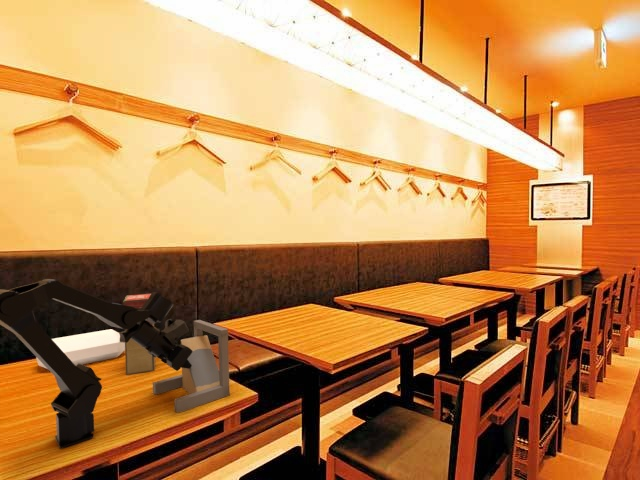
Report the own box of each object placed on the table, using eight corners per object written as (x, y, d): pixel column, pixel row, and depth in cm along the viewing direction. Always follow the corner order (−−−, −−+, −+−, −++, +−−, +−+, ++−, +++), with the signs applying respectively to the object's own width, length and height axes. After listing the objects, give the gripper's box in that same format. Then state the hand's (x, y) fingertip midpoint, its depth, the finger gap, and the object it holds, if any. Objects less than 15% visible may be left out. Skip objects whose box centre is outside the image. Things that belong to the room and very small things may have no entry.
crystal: (129, 332, 145) (39, 348, 127) (130, 357, 145) (40, 376, 127) (119, 326, 156) (34, 339, 137) (120, 349, 156) (35, 365, 137)
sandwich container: (200, 405, 103) (198, 351, 103) (181, 388, 115) (179, 339, 115) (229, 396, 108) (228, 344, 108) (208, 381, 120) (207, 334, 120)
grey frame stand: (177, 412, 98) (175, 340, 98) (153, 392, 111) (151, 328, 111) (229, 395, 108) (227, 329, 108) (201, 378, 121) (199, 319, 121)
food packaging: (127, 363, 138) (125, 295, 137) (155, 359, 141) (153, 292, 141) (124, 375, 125) (122, 300, 125) (155, 371, 129) (153, 298, 129)
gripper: (183, 317, 99) (223, 349, 107) (157, 308, 112) (194, 337, 120) (153, 354, 94) (197, 385, 101) (130, 340, 107) (170, 368, 115)
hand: (190, 366), depth 110 cm, fingers closed
